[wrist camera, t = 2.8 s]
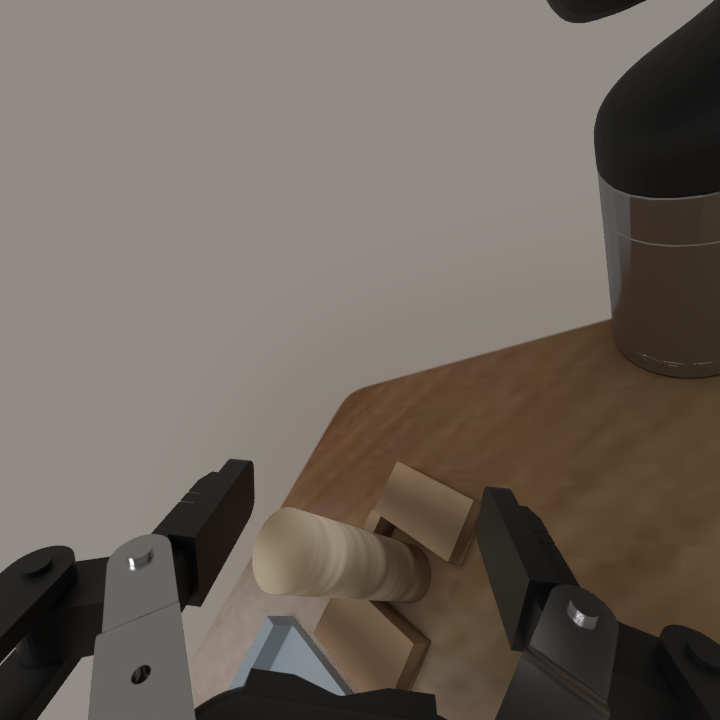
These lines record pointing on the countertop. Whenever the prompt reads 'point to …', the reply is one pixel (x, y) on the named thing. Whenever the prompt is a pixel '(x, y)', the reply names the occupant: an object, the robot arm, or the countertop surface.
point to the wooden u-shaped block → (378, 618)
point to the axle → (335, 560)
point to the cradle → (289, 656)
